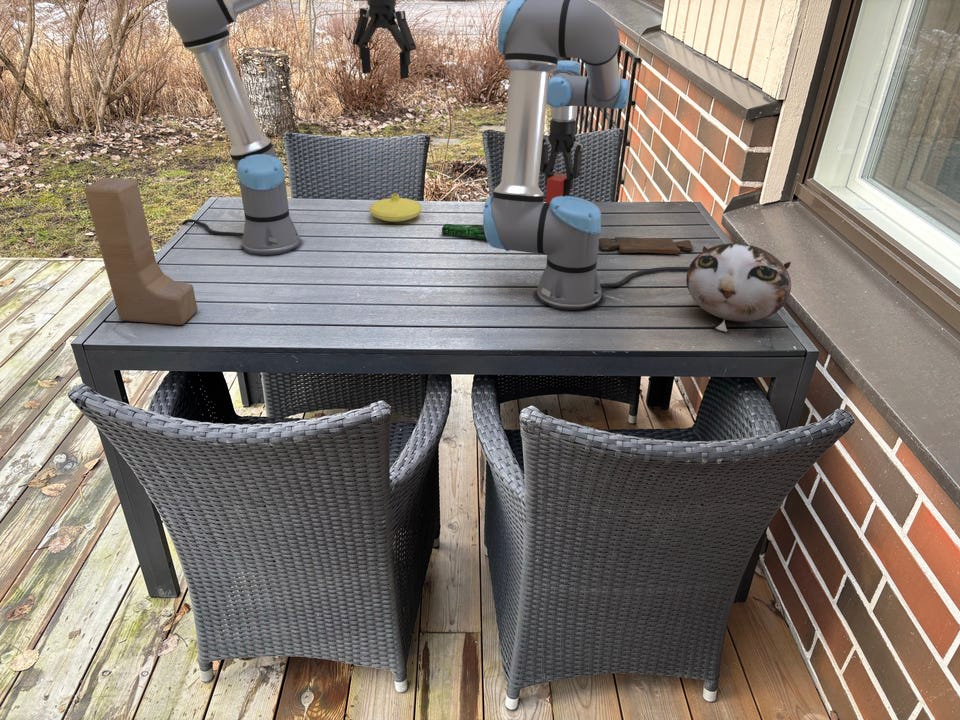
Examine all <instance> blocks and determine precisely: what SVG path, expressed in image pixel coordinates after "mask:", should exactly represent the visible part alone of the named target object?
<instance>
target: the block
mask: <svg viewBox="0 0 960 720" xmlns="http://www.w3.org/2000/svg"><path fill="white" fill-rule="evenodd" d="M566 178H567V176H566V174H565V175H564V174H560V173H556V174H554V176H552V177H550V178H548V179H547V186H546V190H545V191H546V192H545V203H550V202H551V200H552V199H553V198H555V197H558V196H563V191H564V179H566ZM569 196H571V193H570V194H569Z"/></svg>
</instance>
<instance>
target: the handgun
mask: <svg viewBox="0 0 960 720" xmlns="http://www.w3.org/2000/svg"><path fill="white" fill-rule="evenodd" d="M441 235H446V236H454V237H462V238H469V239H470V238H471V239H474V240H479V241H484V242H487V239H486V236H485V232H484V224H482V225H479V224H472V225H459V224H453V223H445V224H443V226H442V227H441Z"/></svg>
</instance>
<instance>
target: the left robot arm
mask: <svg viewBox="0 0 960 720" xmlns="http://www.w3.org/2000/svg"><path fill="white" fill-rule="evenodd" d="M270 1H271V0H167V2H166V12H167V13H166V14H167V17H168V19H169V22H170V24H171V25H172V27H173V28H174V29H175V30H176V31H177V33H178V35H179V37H180V40H181V43H182V44H183V47H184V49H186V50H187V51H189V52H191V53H192V54H193V55H194V57H195V59H196V62H197V64H198V67H199V70H200V71H201V74H202V76H203V79H204V82H205V84H206V87H207V88H208V91H209V94H210V95H211V97H212V100H213V103H214V105H215V107H216V110H217V113H218V114H219V117H220V119H221V122H222V125H223V126H224V127H223V128H224V129H225V132H226V134H227V137H228V138H229V141H230V144H231V147H230V149H229V151H228V153H229V155H230V158H231V161H232V163H233V165H234V168H235V170H236V176H237V179H238V183H239V190H240V196H241V201H242V208H243V212H244V213H243V215H244V219H245V220H244V226H243V228H244V229H243V232H234V231H220V230H213V229H211V228H210V227H209V225H208V224H206V223H205V222H202V221H200V220H196V219H193V218H188V219H185V220H183V221H182V222H181V225H182V226H186V225H187V224H190V223H191V224H195V225H197V226H201V227H202V228H203V227H204V229H205V230H206V232H208V233H209V234H212V235H218V236H230V237H231V236H232V237H241V246H242V249H243V251H244V252H246V253H248V254H252V255H255V256H256V255H257V256H275V255H281V254H282V255H283V254H285V253H289V252H291V251H293V250H296V249H297V248H298V247H299V246H300V244H301V241H300V235H299V233H298V231H297V229H296V227H295V225H294V223H293V220H292V218H291V216H290V207H289V200H288V192H287V183H286V178H285V176H286V171H285V168H284V164H283V162H282V160H281V159H280V158H279V157H278V156H277V153H276V151H275V148H274V145H273V143H272V140H271V139H270V137H267V136H265V135H263V133H262V131H261V127H260V124H259V122H258V120H257V116H256V114H255V112H254V109H253V107H252V104H251V102H250V100H249V99H250V98H249V96H248V94H247V92H246V90H245V89H246V88H245V87H244V84H243V81H242V78H241V76H240V74H239V71H238V69H237V66H236V63H235V61H234V58H233V55H232V53H231V51H230V48H229V45H228V41H229V40H230V37H231V34H230V32H229V28H228V25H230V24H233V23H235V22H236V21H237V18H238V16H239V15H241V14H243V13H245V12H248V11H249V10H252V9H254V8H256V7H257V8H258V6H261V5H263V4H266V3H268V2H270ZM366 3H367V5H368V6H369V7H361V8H359V18H358V22H357V24H356V28H355V31H354V32H355V33H354V35H353V38H352V44H353V45H356V46H357V47H358V50H359V51H358V52H359V60H360V61H361V71H362V74H364V75H365V74H369V73H371V72H372V69H371V68H372V67H371V52H370V50H371V49H370V47H369V45H368V44H369V43H370V41H371V39H372V37H373V36H374V34H375V32H376V31H377V30H378V29H385V30H387V31H388V32H389V33H390V34H391V36H392V38H393V39H394V41H395V42H396V44H397V46H398V47H399V49H400V50H401V51H400V52H399V73H400V74H399V75H400V77H399V78H400V80H405V79H409V78H410V72H409V71H410V69H409V66H410V65H411V52H413V51H415V50H417V45H416V42H415V40H414V38H413V35H412V32H411V30H410V27H409V24H408V21H407V17H406V11H405V10H397V11H396V9H395V8H396V5H397V0H366ZM193 222H194V223H193Z"/></svg>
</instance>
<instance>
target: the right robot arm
mask: <svg viewBox="0 0 960 720" xmlns="http://www.w3.org/2000/svg"><path fill="white" fill-rule="evenodd" d="M620 45H621V41H620V33H619V28H618V26H617V24H616V22H615V21H614V19H612V17H611V16H610V15H609V13H607V12H606V11H605V10H604V9H603V8H602V7H601V6H599V5H598V4H596V3H595V2H593V1H590V0H508V1H507V2H506V3H505V5H504V7H503V9H502V13H501V16H500V20H499V23H498V29H497V51H498V52H499V54H501V55H503V56H504V64H505V66H506V67H507V68H508V70H509V82H508V83H509V85H508V94H507V95H508V96H507V105H506V106H507V107H506V117H505V118H506V119H505V121H506V122H505V131H504V143H503V152H502V153H503V155H502V165H501V166H502V167H501V168H502V169H501V176H500V177H501V178H500V182H499V184H498V185H497V186H496V187H495V188H493V193H492V196H489V197H487V198H486V200H485V202H484V209H483V212H482V213H483V214H482V219H483V220H482V221H483V224H482V225H484V232H485V236H486V239H487V241H486V242H487V243H488V245H490V247H492V248H494V249H499V250H505V251H506V252H508V251H515V252H523V253H529V254H538V255H539V254H540V255H546V266H545V268H544V270H543V273H542V275H541V276H540V277H541V278H540V280H539V282H538V285H537V290H536V297H537V299H538V300H539V301H540V302H541V303H542V304H543V305H545V306H548V307H550V308H553V309H558V310H562V311H583V310H588V309H591V308H595V307H596V306H597V305H599V304H600V302H601V301H602V300H601V299H602V289H603V288H616V287H620V286H622V285H624V284H625V283H627V282H628V281H629V280H630V279H632V278H635V277H636V276H641V275H645V274H649V273H657V272H666V271H667V272H669V271H670V272H671V271H683V272H685V271H688V268H689V266H661V267H653V268H646V269H641V270H638V271H635V272H632V273H630V274H628V275H627V276H625V277H624V278H623V279H622V280H620V281H617V282H611V283H609V282H606V283H600V279H599V274H598V270H597V267H598V266H597V264H598V254H599V246H600V244H599V239H600V235H601V232H602V212H601V210H600V208H599V207H598V206H597V205H596V204H594V203H593V202H592V201H589V200H587V199H584V198H581V197H578V196H577V197H576V196H571V190H573V186H574V180H576V179H577V178H579V177H580V176H581V167H582V166H581V165H582V155H583V154H582V153H583V150H584V148H585V144H584V143H579V142H578V141H577V139H576V132H577V120H576V119H577V117H578V108H579V107H582V108H586V107H587V108H595V109H596V108H597V109H607V110H608V109H610V110H624V109H625V108H627V106H628V101H629V96H630V87H631V86H630V85H631V83H630V80H629V79H626V78H622V77H620V71H619V69H620V68H619V62H618V52H619V50H620ZM559 58H567V59H568V58H571V59H580V61H581V62H583V64H584V67H585V71H586V74H587V76H583V75H582V74H581V63H580V62H578V61H575V60H567V59H565V60H559ZM551 73H552V77H550V75H551ZM547 105H548V106H549V107H550V118H551V119H550V120H549V135H548V137H544V131H545V123H546V122H545V121H546V113H547V112H546V111H547ZM549 145H550V146H551V148H550V147H549ZM549 148H550V149H549ZM572 148H573V150H574V153H573V151H572ZM549 150H550V151H549ZM559 153H561V154H562V157H563V160H564V161H563V162H564V168H565V175H566V176H567V178H566V179H564V191H563V196H558V197H555V198H553V199H552V200H551V202H550V203H546V202H544V196H545V194H544V192H543V191H542V190H541V188H540V186H539V183H540V182H539V180H540V173H543V174H544V175H545V180H544V185H545V187H547V179H548V178H550V177H552V176H554V175H555V174H553V173H554V168H555V165H556V161H557V158H558V155H559ZM572 154H573V157H572ZM569 194H570V196H569Z"/></svg>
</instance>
